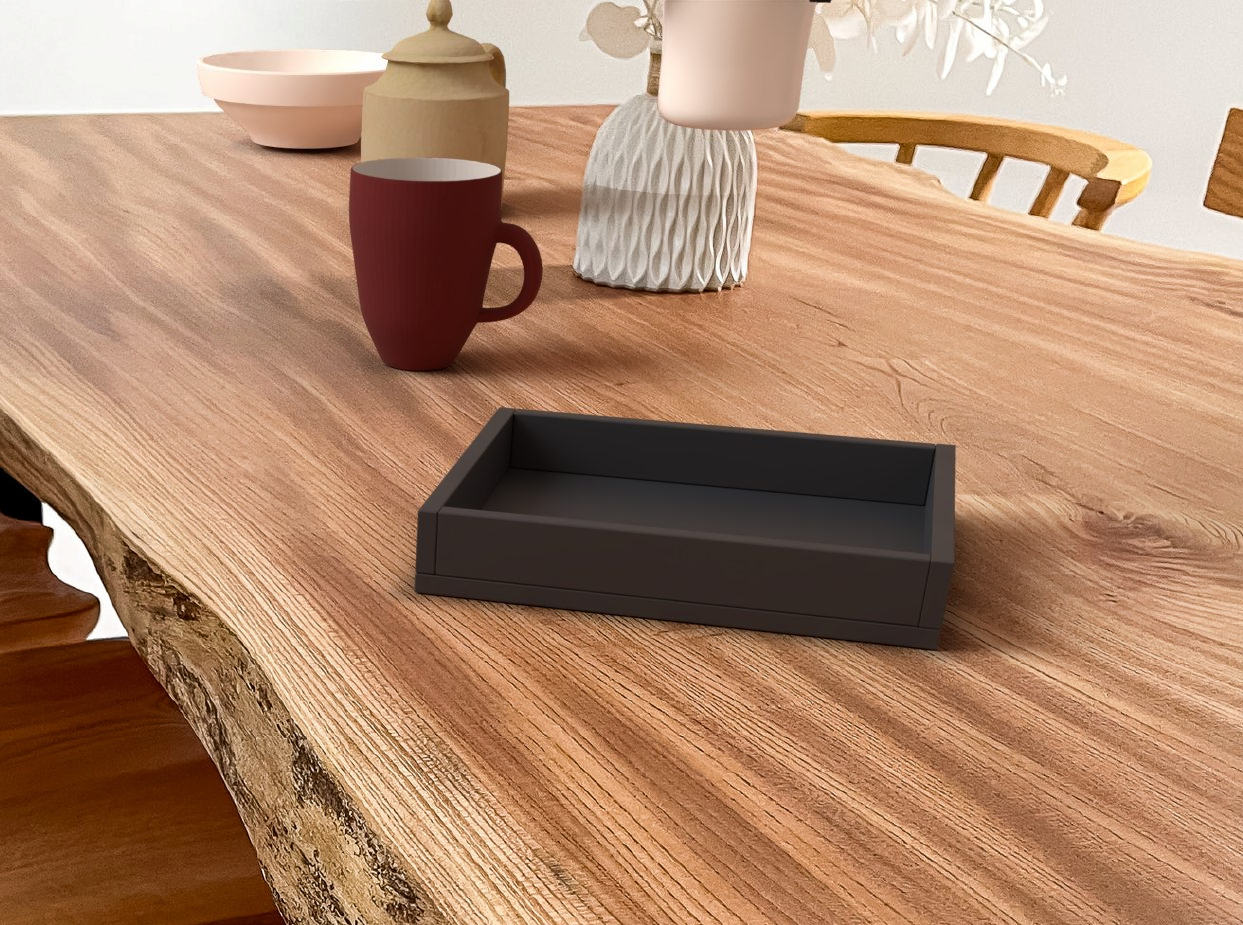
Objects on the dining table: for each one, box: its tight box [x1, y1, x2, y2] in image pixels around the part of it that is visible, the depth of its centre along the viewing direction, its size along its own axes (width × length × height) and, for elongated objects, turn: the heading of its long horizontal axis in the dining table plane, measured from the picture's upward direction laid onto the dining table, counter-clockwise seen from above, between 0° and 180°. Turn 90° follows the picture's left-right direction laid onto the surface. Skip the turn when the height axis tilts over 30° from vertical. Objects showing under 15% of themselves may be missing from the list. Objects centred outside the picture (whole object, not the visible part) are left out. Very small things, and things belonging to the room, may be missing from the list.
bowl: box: [196, 48, 388, 149], centre depth 172 cm, size 20×20×7 cm
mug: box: [348, 158, 544, 371], centre depth 102 cm, size 11×8×10 cm
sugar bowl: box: [360, 0, 510, 209], centre depth 144 cm, size 15×11×15 cm
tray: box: [413, 406, 957, 650], centre depth 77 cm, size 20×16×3 cm
